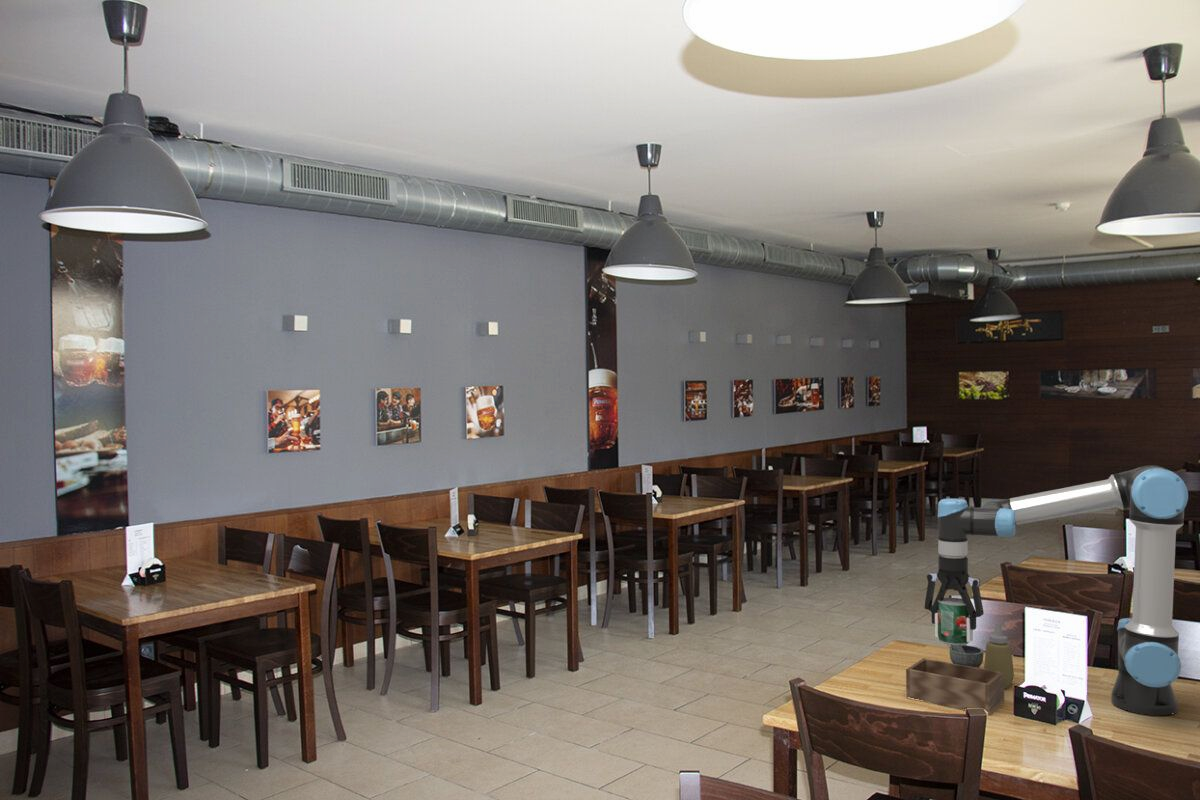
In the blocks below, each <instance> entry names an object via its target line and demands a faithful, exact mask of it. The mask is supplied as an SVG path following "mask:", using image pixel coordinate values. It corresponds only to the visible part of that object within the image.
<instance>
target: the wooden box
mask: <svg viewBox="0 0 1200 800" xmlns="http://www.w3.org/2000/svg"><path fill="white" fill-rule="evenodd" d="M905 675H906V676H905V679H906V680H905V683H906V684H905V685H906V687H905V688H906V696H905V697H906V698H907V697H910V698H914V699H919V700H923V701H927V702H930V703H929V704H931V703H933V704H932V705H936V704H937V706H940V707H941V706H943V707H947V708H951V709H955V710H961V711H965V709H967V708H983V709H985V710H986V711H987V712H988V715H987V716H989V717H990V716H991V715H992V714H993V713H994V712H996V710H997V709H998V708H1000V706H1002V705H1003V704H1004V703H1005V689H1004V672H998V671H992V670H987V669H984V668H980V667H978V668H976V667H970V666H965V665H959V664H953V663H952V662H947V661H941V660H935V659H930V658H925V657H923V658H921V659H920V660H918V661H916V662H915V663H914V664H912V665H911V666H909V667H908V668H906V670H905ZM927 702H926V703H927ZM963 709H964V710H963Z"/></svg>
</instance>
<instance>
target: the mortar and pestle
mask: <svg viewBox="0 0 1200 800" xmlns="http://www.w3.org/2000/svg"><path fill="white" fill-rule="evenodd" d="M949 645H950V646H949V658H950V661H951V663H953V664H959V665H965V666H970V667H976V668H980V667H981V665H982V664H983V662H984V649H982V648H981V647H978V646H974V645H968V644H965V645H951V644H949Z"/></svg>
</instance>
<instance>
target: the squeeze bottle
mask: <svg viewBox="0 0 1200 800" xmlns="http://www.w3.org/2000/svg"><path fill="white" fill-rule="evenodd" d="M1011 647H1012V646H1011V645H1010V644H1009V643H1008V636H1007V635H1004V633H1003V628H1002V625H1001V623H1000V622H996V623H995V625H994V630H993V633H992V634H989V641H987V643H986V644H985V654H984V655H985V656H984V667H983V669H987V670H992V671H998V672H1004V690H1005V689H1009V688H1011V687H1012V683H1013V680H1014V678H1015V671H1014V662H1013V654H1012V648H1011Z"/></svg>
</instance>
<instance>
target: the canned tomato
mask: <svg viewBox="0 0 1200 800" xmlns="http://www.w3.org/2000/svg"><path fill="white" fill-rule="evenodd" d="M938 611H939V612H938V613H939V615H938V616H939V618H938V619H939V637H938V641H939V642H941V643H943V644H947V645H950V644H951V645H968V644H969V643H970V642H967V617H969V614H968V612H967V609H966V604H964V602H963V600H962V598H960V597H959V598H957V597H944V598H943V600H941V601H939V600H938ZM951 645H950V646H951Z"/></svg>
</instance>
